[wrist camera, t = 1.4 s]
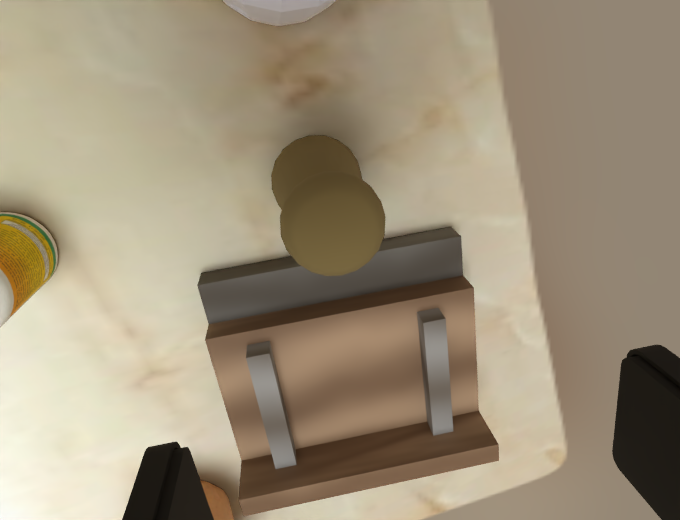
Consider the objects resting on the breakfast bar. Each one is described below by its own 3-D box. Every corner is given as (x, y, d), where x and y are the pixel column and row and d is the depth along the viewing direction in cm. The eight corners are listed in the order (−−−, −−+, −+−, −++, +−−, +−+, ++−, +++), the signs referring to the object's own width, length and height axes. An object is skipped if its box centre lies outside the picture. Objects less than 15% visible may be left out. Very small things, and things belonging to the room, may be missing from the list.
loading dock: (201, 273, 34) (183, 327, 27) (451, 226, 35) (494, 267, 28) (248, 437, 40) (243, 516, 33) (460, 393, 41) (498, 460, 34)
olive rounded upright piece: (262, 143, 31) (258, 183, 21) (355, 127, 31) (394, 160, 21) (280, 231, 33) (284, 305, 23) (366, 215, 34) (406, 282, 24)
